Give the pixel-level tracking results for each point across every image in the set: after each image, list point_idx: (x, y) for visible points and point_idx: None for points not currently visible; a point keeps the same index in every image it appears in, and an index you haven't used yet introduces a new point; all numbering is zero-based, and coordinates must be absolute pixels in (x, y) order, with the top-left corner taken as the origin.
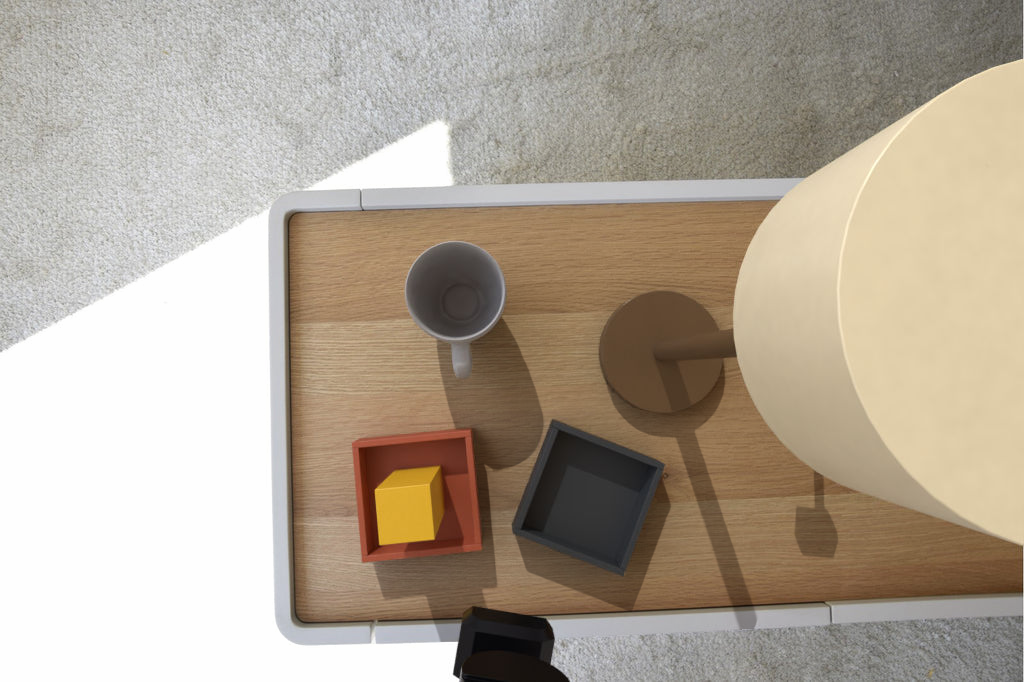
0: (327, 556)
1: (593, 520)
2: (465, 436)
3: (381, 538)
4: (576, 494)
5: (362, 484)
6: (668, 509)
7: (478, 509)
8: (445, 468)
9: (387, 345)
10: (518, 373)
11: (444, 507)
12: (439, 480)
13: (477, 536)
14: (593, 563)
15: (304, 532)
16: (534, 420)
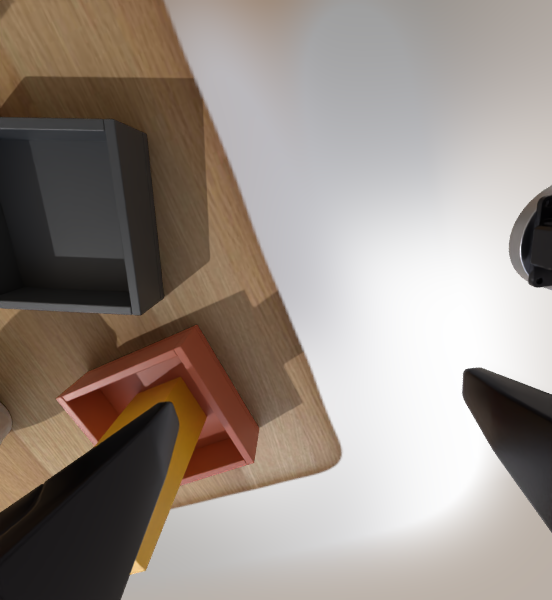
0: (278, 460)
1: (100, 195)
2: (65, 402)
3: (135, 570)
4: (82, 232)
5: None
6: (32, 78)
7: (140, 360)
8: (138, 388)
9: (64, 461)
10: (7, 343)
11: (174, 380)
12: (127, 414)
13: (166, 356)
14: (119, 182)
15: (263, 482)
16: (40, 310)
